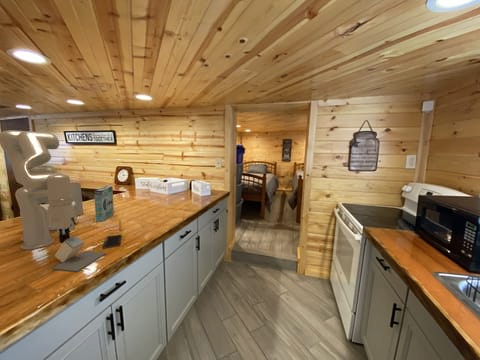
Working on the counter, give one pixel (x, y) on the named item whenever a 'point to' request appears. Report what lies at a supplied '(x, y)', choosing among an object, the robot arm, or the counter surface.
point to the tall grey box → (77, 197)
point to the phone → (112, 241)
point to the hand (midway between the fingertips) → (65, 241)
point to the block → (69, 248)
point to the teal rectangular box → (103, 203)
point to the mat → (79, 261)
